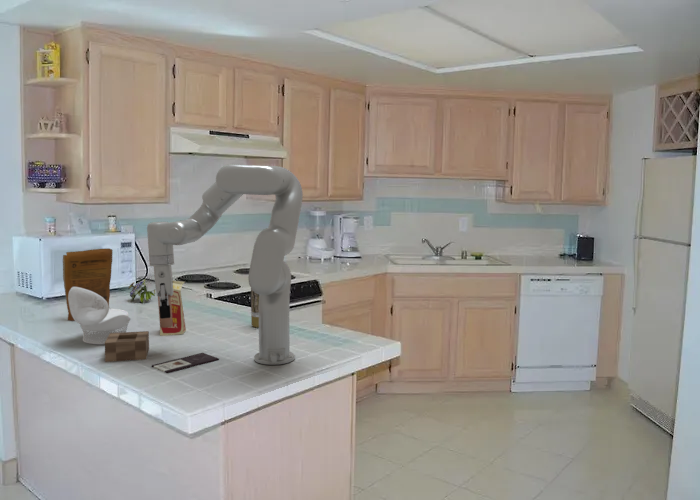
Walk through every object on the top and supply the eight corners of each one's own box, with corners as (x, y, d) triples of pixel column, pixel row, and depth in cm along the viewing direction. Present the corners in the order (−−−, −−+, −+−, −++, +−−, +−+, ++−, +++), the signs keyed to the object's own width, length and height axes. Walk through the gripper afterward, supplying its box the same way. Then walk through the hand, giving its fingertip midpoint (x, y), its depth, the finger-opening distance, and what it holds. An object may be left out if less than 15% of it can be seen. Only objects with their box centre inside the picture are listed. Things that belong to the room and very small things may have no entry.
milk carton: (160, 335, 218) (158, 280, 216) (160, 329, 227) (159, 276, 225) (186, 334, 221) (184, 279, 218) (186, 328, 229) (184, 275, 227)
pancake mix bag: (117, 317, 246) (114, 248, 243) (66, 323, 236) (62, 251, 232) (113, 314, 252) (110, 246, 249) (63, 320, 241) (59, 249, 238)
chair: (143, 338, 215) (141, 282, 213) (92, 351, 199) (89, 291, 196) (109, 330, 226) (107, 276, 224) (58, 341, 210) (55, 284, 207)
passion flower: (133, 312, 278) (125, 290, 282) (157, 306, 283) (148, 283, 287) (134, 303, 269) (126, 279, 273) (159, 296, 274) (150, 273, 278)
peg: (172, 326, 196) (170, 290, 194) (159, 328, 195) (156, 291, 193) (173, 324, 199) (170, 288, 198) (160, 325, 198) (157, 289, 197)
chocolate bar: (219, 358, 190) (167, 371, 177) (219, 361, 190) (167, 374, 177) (202, 352, 196) (151, 365, 183) (202, 355, 196) (151, 368, 183)
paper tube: (265, 328, 229) (265, 262, 226) (248, 327, 231) (247, 262, 228) (271, 324, 236) (271, 260, 233) (255, 323, 237) (254, 259, 234)
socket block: (146, 359, 190) (145, 340, 190) (105, 361, 187) (104, 342, 187) (149, 348, 202) (148, 331, 201) (110, 351, 199) (109, 333, 198)
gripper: (172, 262, 187) (176, 321, 189) (174, 256, 204) (178, 310, 206) (147, 264, 186) (151, 323, 188) (151, 258, 202) (155, 312, 204)
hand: (165, 315), depth 197 cm, fingers closed on peg, 4 cm apart
